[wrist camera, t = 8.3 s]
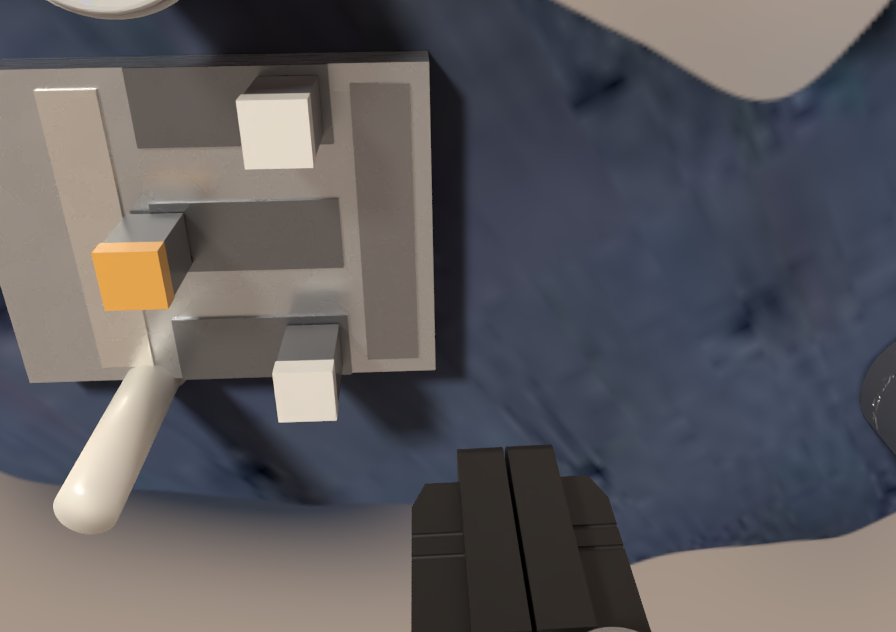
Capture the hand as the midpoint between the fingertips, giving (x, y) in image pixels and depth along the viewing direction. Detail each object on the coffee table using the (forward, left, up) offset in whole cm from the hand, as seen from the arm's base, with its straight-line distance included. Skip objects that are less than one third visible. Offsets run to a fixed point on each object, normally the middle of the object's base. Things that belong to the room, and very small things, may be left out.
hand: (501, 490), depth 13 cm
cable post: (+17, +18, -34) cm, 42 cm away
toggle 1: (+15, +8, -31) cm, 36 cm away
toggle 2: (+7, +1, -31) cm, 32 cm away
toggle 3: (+7, +15, -31) cm, 35 cm away
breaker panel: (+12, +8, -34) cm, 37 cm away
